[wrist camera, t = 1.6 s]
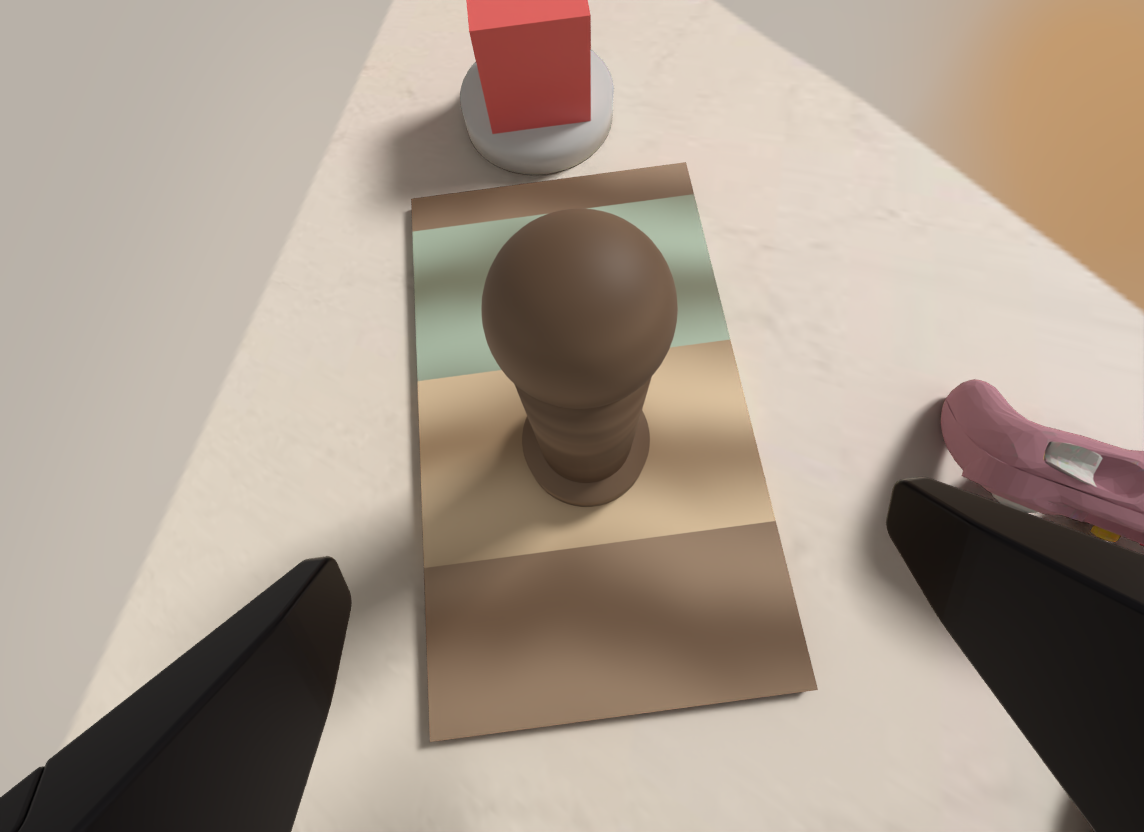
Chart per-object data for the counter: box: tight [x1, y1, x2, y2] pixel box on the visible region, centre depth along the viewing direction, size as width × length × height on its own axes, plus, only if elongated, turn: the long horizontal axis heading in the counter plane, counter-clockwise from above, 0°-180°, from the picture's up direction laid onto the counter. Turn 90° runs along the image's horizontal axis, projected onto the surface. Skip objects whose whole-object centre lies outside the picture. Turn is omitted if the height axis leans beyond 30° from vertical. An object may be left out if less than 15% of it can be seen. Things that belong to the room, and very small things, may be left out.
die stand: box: [460, 0, 614, 175], centre depth 24 cm, size 8×8×7 cm
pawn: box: [481, 208, 678, 507], centre depth 15 cm, size 5×5×13 cm
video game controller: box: [941, 379, 1144, 546], centre depth 18 cm, size 10×5×7 cm, turn 67°
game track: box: [411, 162, 818, 742], centre depth 22 cm, size 24×14×1 cm, turn 7°
